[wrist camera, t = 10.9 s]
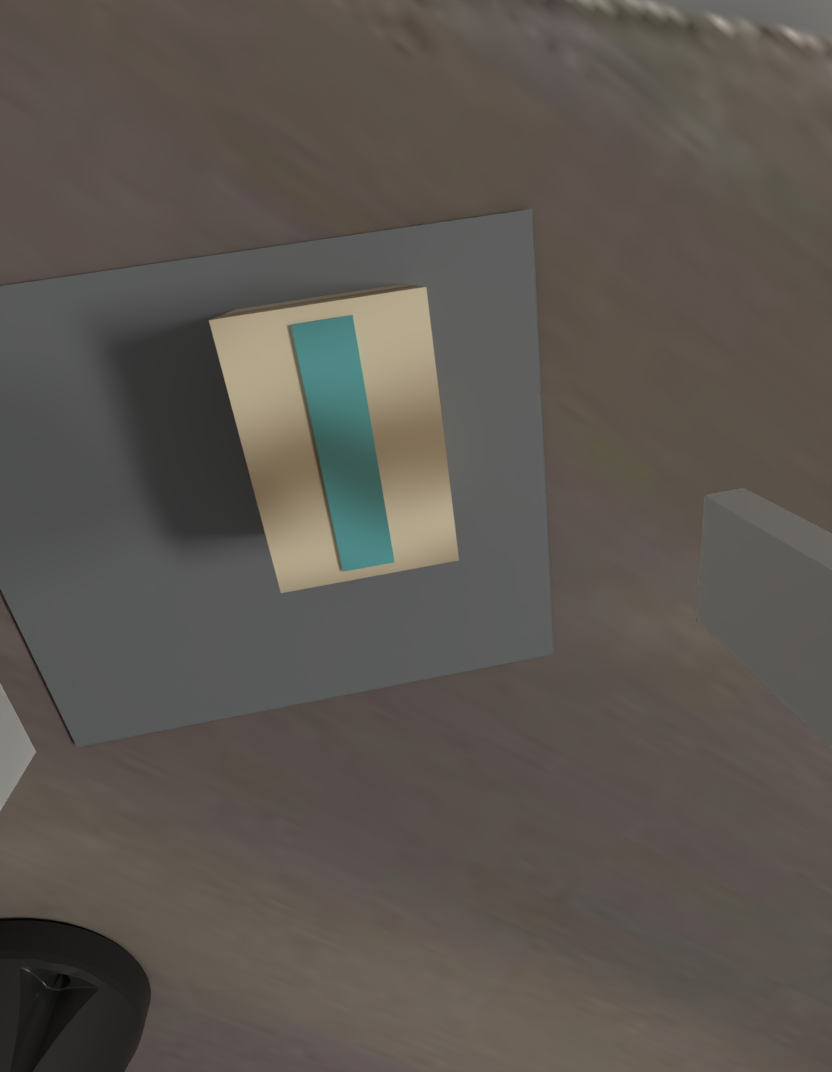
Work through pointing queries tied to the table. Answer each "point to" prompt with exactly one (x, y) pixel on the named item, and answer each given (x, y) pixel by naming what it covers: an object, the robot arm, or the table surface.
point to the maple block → (342, 432)
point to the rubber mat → (227, 493)
